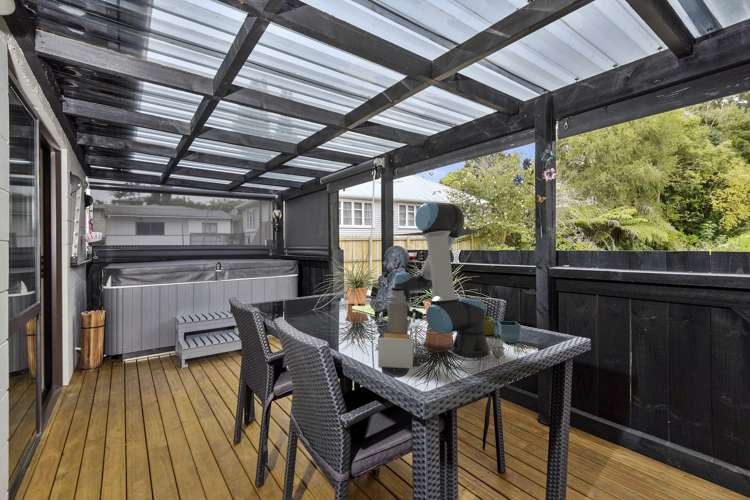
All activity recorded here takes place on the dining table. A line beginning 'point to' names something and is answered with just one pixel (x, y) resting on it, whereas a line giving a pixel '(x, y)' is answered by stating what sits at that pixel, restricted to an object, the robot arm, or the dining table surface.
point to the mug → (489, 326)
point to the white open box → (395, 352)
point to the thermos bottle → (397, 312)
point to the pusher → (396, 336)
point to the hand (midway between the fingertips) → (396, 319)
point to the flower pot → (509, 331)
